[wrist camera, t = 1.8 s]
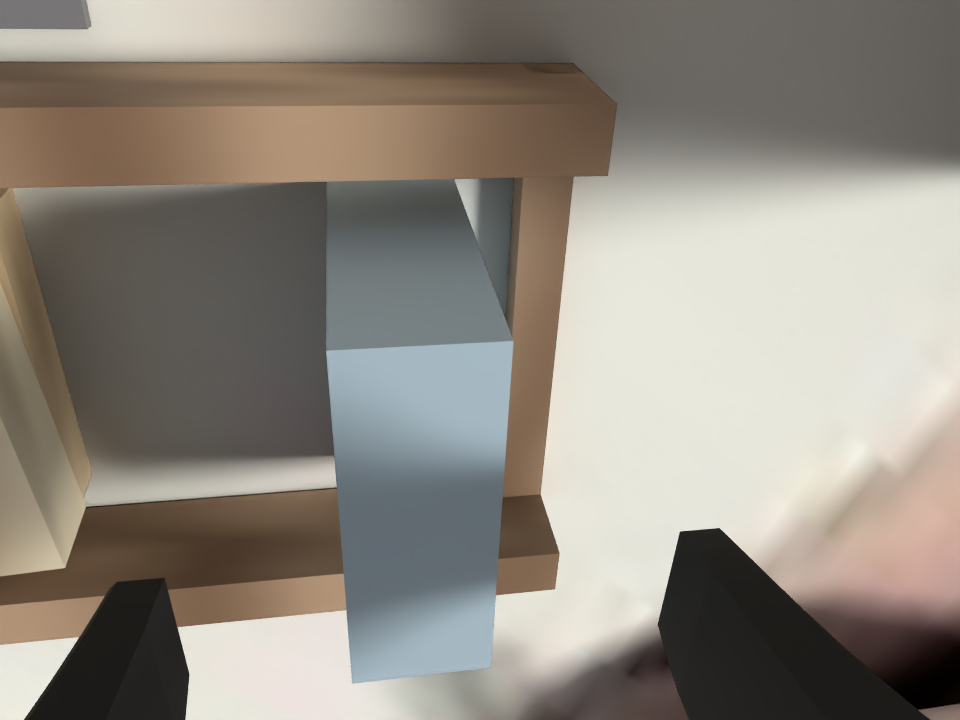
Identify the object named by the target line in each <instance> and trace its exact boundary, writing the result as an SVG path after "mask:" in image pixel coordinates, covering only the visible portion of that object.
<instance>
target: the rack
mask: <svg viewBox="0 0 960 720" xmlns="http://www.w3.org/2000/svg"><path fill="white" fill-rule="evenodd" d="M616 106H617V104H616V103H615V102H614V101H613V100H612V99H611V98H610V97H609V96H608V95H607V94H605V93H604V92H603V91H602V90H601V89H600V88H599V87H598V86H597V85H596V84H595V83H594V82H593V81H591V80H590V79H589V78H588V77H587V76H586V75H585V74H584V73H583V72H582V71H581V70H580V69H579V68H577V67H576V66H575V65H574V64H573V63H133V62H0V188H29V187H79V186H128V185H178V184H227V183H277V182H326V181H376V180H425V179H475V178H514V190H513V206H512V222H511V238H510V254H509V270H508V286H507V302H506V318H505V319H506V322H507V325H508V327H509V330H510V333H511V336H512V338H513V355H512V370H511V384H510V398H509V413H508V427H507V441H506V456H505V470H504V484H503V499H502V513H501V527H500V542H499V556H498V570H497V584H496V595H502V594H512V593H522V592H532V591H542V590H552V589H555V585H556V577H557V569H558V561H559V550H558V547H557V544H556V541H555V538H554V535H553V532H552V529H551V526H550V522H549V519H548V516H547V513H546V510H545V507H544V504H543V501H542V498H541V495H540V494H541V484H542V475H543V465H544V455H545V446H546V436H547V426H548V417H549V407H550V397H551V388H552V378H553V368H554V359H555V349H556V340H557V330H558V320H559V311H560V301H561V291H562V282H563V272H564V262H565V253H566V243H567V233H568V224H569V214H570V204H571V195H572V185H573V177H574V176H608V169H609V161H610V153H611V146H612V138H613V130H614V122H615V114H616ZM154 578H165V581H166V585H167V589H168V593H169V597H170V600H171V604H172V608H173V612H174V616H175V620H176V624H177V627H182V626H192V625H202V624H212V623H222V622H232V621H242V620H252V619H262V618H272V617H282V616H292V615H302V614H312V613H322V612H332V611H342V610H347V609H346V597H345V584H344V571H343V559H342V546H341V533H340V521H339V508H338V495H337V489H326V490H313V491H300V492H287V493H274V494H261V495H248V496H235V497H222V498H209V499H197V500H184V501H171V502H158V503H145V504H132V505H119V506H106V507H93V508H85V511H84V514H83V517H82V520H81V523H80V526H79V529H78V532H77V534H76V537H75V540H74V543H73V546H72V549H71V552H70V555H69V558H68V561H67V564H66V567H65V568H61V569H54V570H46V571H38V572H30V573H23V574H15V575H7V576H0V645H3V644H13V643H23V642H33V641H43V640H53V639H63V638H73V637H80V636H81V634H82V632H83V631H84V629H85V628H86V626H87V624H88V623H89V621H90V620H91V618H92V616H93V615H94V613H95V611H96V610H97V608H98V607H99V605H100V603H101V602H102V600H103V598H104V597H105V595H106V593H107V592H108V590H109V588H111V587H112V586H113V585H114V584H115V583H116V582H120V581H132V580H143V579H154Z"/></svg>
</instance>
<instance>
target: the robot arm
mask: <svg viewBox="0 0 960 720" xmlns="http://www.w3.org/2000/svg"><path fill="white" fill-rule="evenodd" d="M658 627H659V631H660V634H661V638H662V641H663V645H664V648H665V652H666V655H667V659H668V662H669V665H670V669H671V672H672V675H673V678H674V681H675V685H676V688H677V691H678V694H679V696H680V699H681V701H682V703H683V706H684V708H685V711H686V713H687V715H688V718H689V720H930V719H929V718H928V717H926V716H925V715H924V714H923V713H921V712H920V711H919V710H918V709H916V708H915V707H914V706H913V705H911V704H910V703H909V702H908V701H907V700H905V699H904V698H903V697H902V696H901V695H899V694H898V693H897V692H896V691H895V690H893V689H892V688H891V687H890V686H889V685H887V684H886V683H885V682H884V681H883V680H881V679H880V678H879V677H878V676H877V675H875V674H874V673H873V672H872V671H871V670H869V669H868V668H867V667H866V666H865V665H864V664H863V663H861V662H860V661H859V660H858V659H857V658H856V657H855V656H854V655H852V654H851V653H850V652H849V651H848V650H847V649H846V648H845V647H844V646H842V645H841V644H840V643H839V642H838V641H837V640H836V639H835V638H834V637H833V636H832V635H830V634H829V633H828V632H827V631H826V630H825V629H824V628H823V627H822V626H821V625H820V624H818V623H817V622H816V621H815V620H814V619H813V618H812V617H811V616H810V615H809V614H808V613H807V612H806V611H804V610H803V609H802V608H801V607H800V606H799V605H798V604H797V603H796V602H795V601H794V600H793V599H792V598H791V597H790V596H789V595H788V594H787V593H786V592H785V591H784V590H783V589H782V588H780V587H779V586H778V585H777V584H776V583H775V582H774V581H773V580H772V579H771V578H770V577H769V576H768V575H767V574H766V573H765V572H764V571H763V570H762V569H761V568H760V567H759V566H758V565H757V564H756V563H755V562H754V561H753V560H752V559H751V558H750V557H749V556H748V555H747V554H746V553H745V552H744V551H743V550H741V549H740V548H739V547H738V546H737V545H736V544H735V543H734V542H733V541H732V540H731V539H730V538H729V537H728V536H727V535H726V534H725V533H724V532H723V531H722V530H721V529H720V528H716V529H705V530H694V531H682V532H680V534H679V538H678V542H677V546H676V551H675V555H674V559H673V563H672V567H671V572H670V576H669V580H668V584H667V588H666V592H665V597H664V601H663V605H662V609H661V613H660V618H659V622H658ZM188 684H189V671H188V667H187V663H186V659H185V656H184V652H183V648H182V644H181V640H180V636H179V632H178V628H177V624H176V620H175V616H174V612H173V608H172V604H171V600H170V597H169V593H168V589H167V585H166V581H165V578H154V579H143V580H132V581H120V582H116V583H115V584H114V585H113V586H112V587H111V588H109V590H108V592H107V593H106V595H105V597H104V598H103V600H102V602H101V603H100V605H99V607H98V608H97V610H96V611H95V613H94V615H93V616H92V618H91V620H90V621H89V623H88V624H87V626H86V628H85V629H84V631H83V632H82V634H81V636H80V637H79V639H78V640H77V642H76V643H75V645H74V647H73V648H72V650H71V651H70V653H69V654H68V656H67V657H66V659H65V660H64V662H63V663H62V665H61V666H60V668H59V670H58V671H57V673H56V674H55V676H54V677H53V679H52V680H51V682H50V683H49V685H48V686H47V687H46V689H45V690H44V692H43V693H42V695H41V696H40V698H39V699H38V700H37V702H36V703H35V705H34V706H33V708H32V709H31V710H30V712H29V713H28V715H27V716H26V718H25V719H24V720H185V717H186V706H187V695H188Z"/></svg>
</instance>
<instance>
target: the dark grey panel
mask: <svg viewBox="0 0 960 720" xmlns="http://www.w3.org/2000/svg"><path fill="white" fill-rule="evenodd" d="M90 26H91V22H90V17H89V12H88V7H87V3H86V0H0V29H88V28H89V27H90Z"/></svg>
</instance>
